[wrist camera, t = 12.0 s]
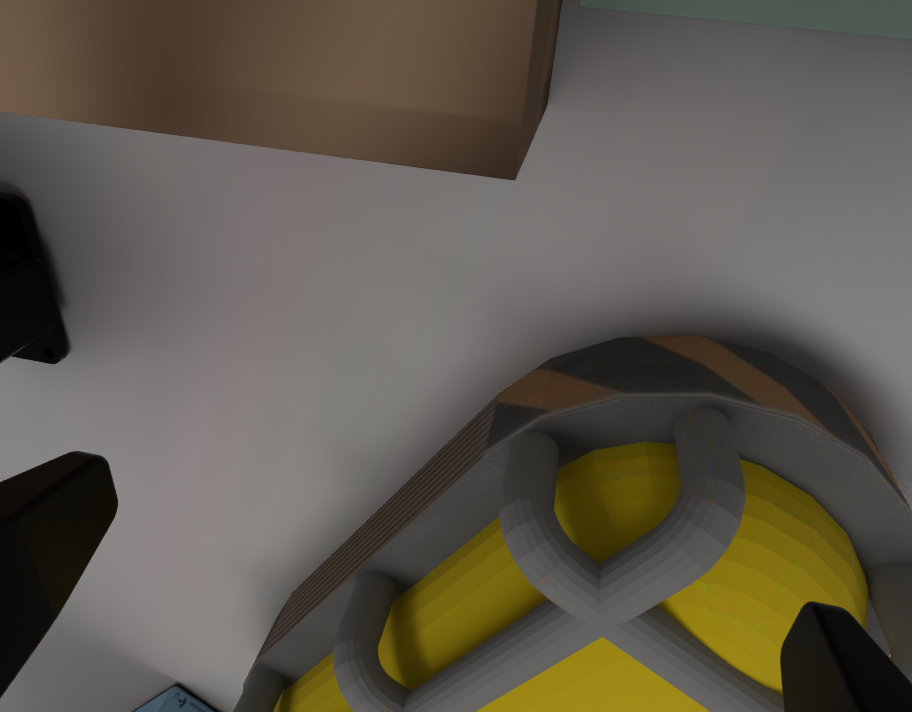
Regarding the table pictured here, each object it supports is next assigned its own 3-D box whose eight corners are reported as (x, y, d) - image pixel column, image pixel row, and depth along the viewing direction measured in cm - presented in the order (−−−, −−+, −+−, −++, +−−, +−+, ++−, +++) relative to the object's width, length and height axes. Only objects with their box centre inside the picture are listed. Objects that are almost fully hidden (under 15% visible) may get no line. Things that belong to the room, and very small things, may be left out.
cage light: (1150, 766, 15) (415, 972, 31) (985, 517, 22) (450, 789, 37) (680, 388, 13) (136, 820, 28) (657, 238, 19) (228, 653, 35)
